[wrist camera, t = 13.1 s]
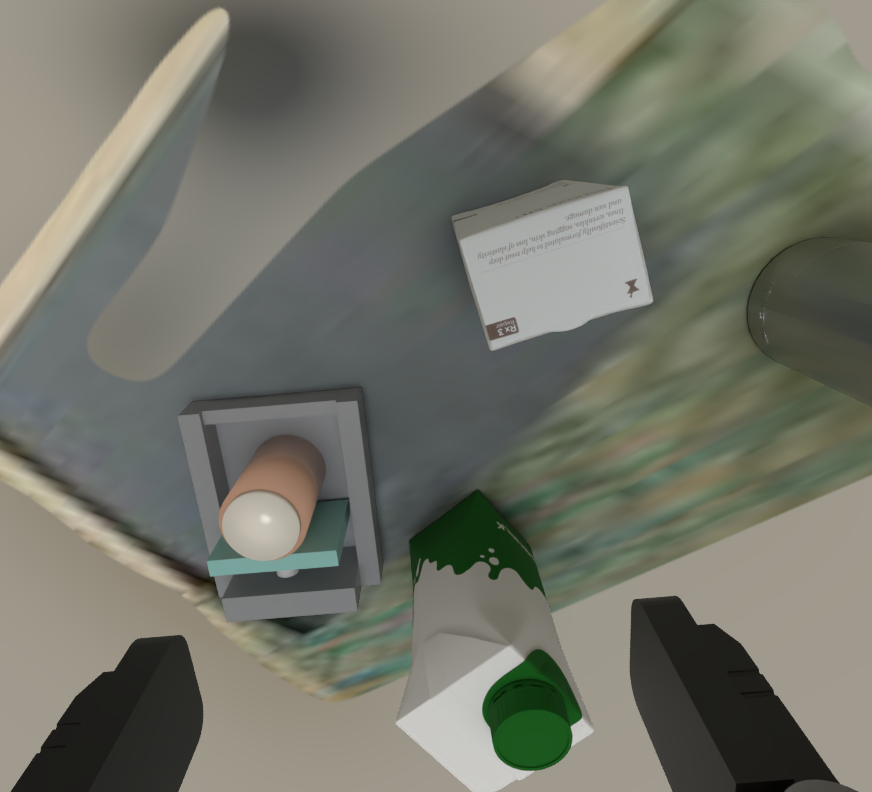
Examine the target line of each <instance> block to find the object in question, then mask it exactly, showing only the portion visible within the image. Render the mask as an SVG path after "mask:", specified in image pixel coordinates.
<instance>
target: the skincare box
mask: <svg viewBox="0 0 872 792" xmlns="http://www.w3.org/2000/svg"><path fill="white" fill-rule="evenodd" d="M451 220H452V223H453V227H454V230H455V234H456V237H457V241H458V244H459V248H460V252H461V255H462V259H463V263H464V267H465V270H466V274H467V278H468V281H469V285H470V288H471V291H472V295H473V298H474V301H475V304H476V307H477V311H478V314H479V317H480V320H481V323H482V326H483V330H484V333H485V336H486V339H487V342H488V346H489V349H490V350H492V351H494V350H497V349H500V348H503V347H506V346H509V345H512V344H515V343H518V342H521V341H524V340H527V339H530V338H533V337H537V336H540V335H543V334H547V333H550V332H562V331H568V330H572V329H574V328H577V327H579V326H582V325H583V324H585V323H586V322H587V321H589V320H592V319H595V318H598V317H602V316H605V315H608V314H611V313H615V312H619V311H623V310H627V309H632V308H637V307H641V306H645V305H648V304H651V303H652V302H653V296H652V292H651V287H650V283H649V278H648V273H647V268H646V264H645V260H644V255H643V251H642V247H641V242H640V238H639V233H638V229H637V225H636V220H635V216H634V212H633V208H632V204H631V199H630V194H629V189H628V187H627V186H623V187H622V186H612V185H603V184H596V183H588V182H578V181H571V180H560V181H557V182H554V183H552V184H550V185H547V186H545V187H543V188H540V189H537V190H534V191H532V192H529V193H526V194H523V195H520V196H517V197H514V198H511V199H508V200H505V201H502V202H499V203H496V204H492V205H489V206H485V207H482V208H479V209H475V210H472V211H467V212H463V213H459V214H456V215H453V216H451Z"/></svg>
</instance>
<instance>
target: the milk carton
mask: <svg viewBox="0 0 872 792" xmlns="http://www.w3.org/2000/svg"><path fill="white" fill-rule="evenodd" d="M409 543H410V556H411V569H412V581H413V635H412V667H411V671H410V674H409V678H408V681H407V685H406V688H405V692H404V695H403V698H402V702H401V705H400V709H399V712H398V716H397V719H396V722H395V723H396V724H397V725H398V726H399V727H400V728H401V729H402V730H403V731H404V732H406V733H407V734H408V735H409V736H410V737H411V738H412V739H414V740H415V741H416V742H417V743H418V744H419V745H420V746H421V747H423V748H424V749H425V750H426V751H427V752H428V753H429V754H430V755H432V756H433V757H434V758H435V759H436V760H437V761H438V762H439V763H441V764H442V765H443V766H444V767H445V768H446V769H447V770H449V771H450V772H451V773H452V774H453V775H454V776H455V777H456V778H457V779H459V780H460V781H461V782H462V783H463V784H464V785H465V786H466V787H468V788H469V789H470V790H471V791H472V792H497V791H498V790H500V789H501V788H503V787H504V786H506V785H508V784H509V783H511V782H512V781H514V780H516V779H517V780H521V779H523V778H525V777H527V776H528V775H530V774H531V773H533V772H534V771H536V770H541V769H545V768H548V767H550V766H553V765H555V764H556V763H558V762H559V761H560V760H562V759H563V758H564V757H565V755H566V754H567V753H568V751H569V750H570V748H571V746H573V745H574V744H576V743H577V742H579V741H580V740H582V739H584V738H585V737H587V736H588V735H590V734H591V733H593V731H594V727H593V724H592V722H591V720H590V717H589V715H588V712H587V710H586V707H585V705H584V703H583V700H582V698H581V695H580V693H579V690H578V688H577V685H576V683H575V681H574V678H573V676H572V673H571V671H570V668H569V666H568V663H567V661H566V658H565V656H564V653H563V650H562V648H561V645H560V641H559V638H558V635H557V632H556V629H555V625H554V622H553V619H552V615H551V612H550V609H549V606H548V602H547V599H546V596H545V592H544V589H543V586H542V583H541V579H540V576H539V573H538V570H537V566H536V563H535V560H534V557H533V554H532V551H531V548H530V546H529V545H528V544H527V543H526V542H525V541H524V540H523V539H522V538H521V537H520V535H519V534H518V533H517V532H516V531H515V530H514V529H513V528H512V527H511V526H510V525H509V523H508V522H507V521H506V520H505V519H504V518H503V517H502V516H501V515H500V514H499V513H498V511H497V510H496V509H495V508H494V507H493V506H492V505H491V504H490V503H489V502H488V500H487V499H486V498H485V497H484V496H483V495H482V494H481V493H480V492H479V491H478V490H476V491H475V492H474V493H472V494H471V495H470V496H468V497H467V498H466V499H464V500H463V501H462V502H460V503H459V504H458V505H456V506H455V507H454V508H452V509H451V510H450V511H448V512H447V513H446V514H444V515H443V516H442V517H440V518H439V519H438V520H436V521H435V522H434V523H432V524H431V525H430V526H428V527H427V528H426V529H424V530H423V531H422V532H420V533H419V534H418V535H416V536H415V537H414V538H412V539H411V540H410V541H409Z"/></svg>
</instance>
